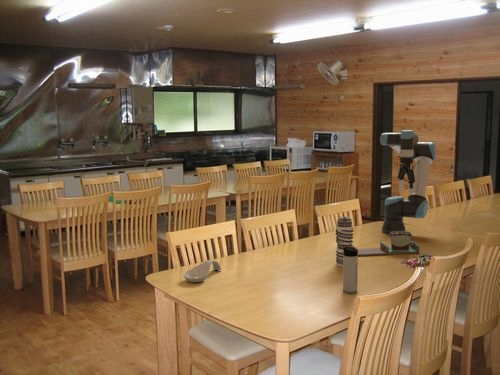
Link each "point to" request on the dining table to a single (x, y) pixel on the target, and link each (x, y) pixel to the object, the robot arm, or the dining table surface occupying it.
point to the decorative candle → (343, 237)
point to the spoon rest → (201, 271)
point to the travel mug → (350, 270)
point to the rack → (387, 250)
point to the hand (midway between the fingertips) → (405, 192)
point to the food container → (400, 240)
